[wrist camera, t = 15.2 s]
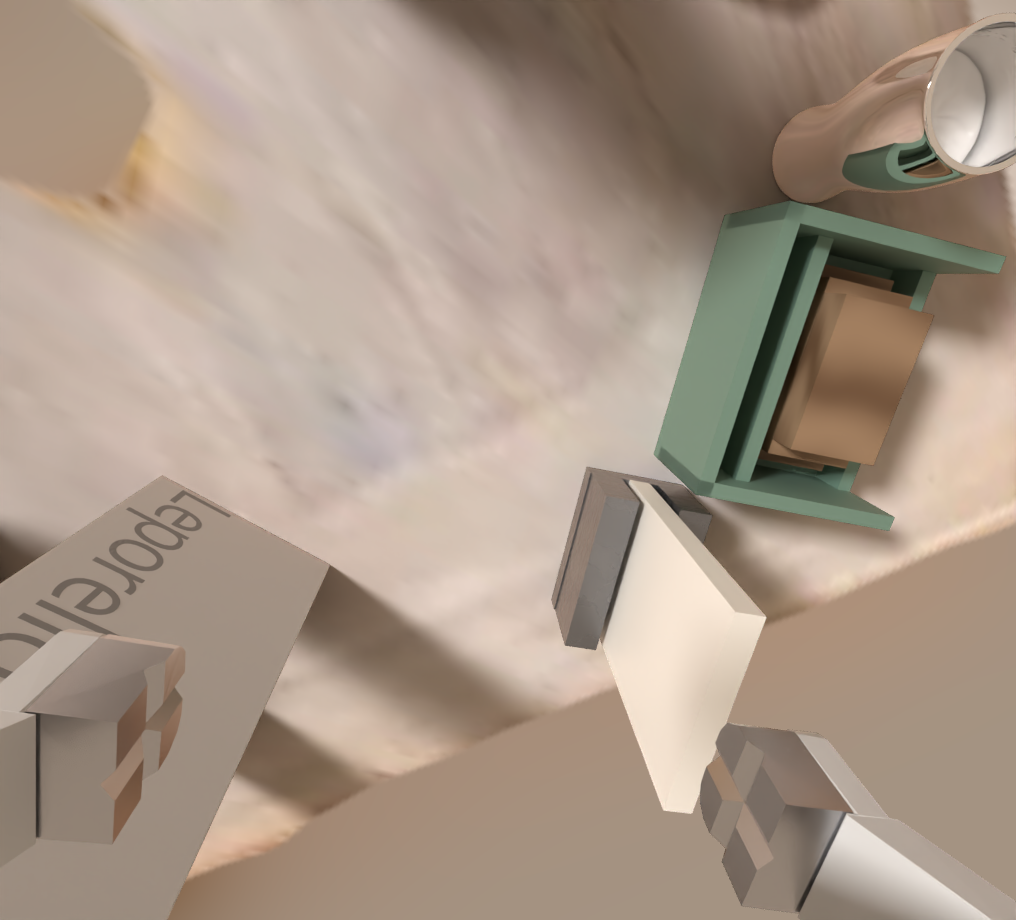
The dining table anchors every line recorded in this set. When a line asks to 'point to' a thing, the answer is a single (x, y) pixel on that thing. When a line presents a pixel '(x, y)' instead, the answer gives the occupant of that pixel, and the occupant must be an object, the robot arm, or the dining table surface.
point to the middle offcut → (823, 287)
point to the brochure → (204, 686)
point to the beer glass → (911, 120)
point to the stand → (606, 548)
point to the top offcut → (851, 377)
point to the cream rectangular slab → (676, 646)
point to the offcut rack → (781, 349)
